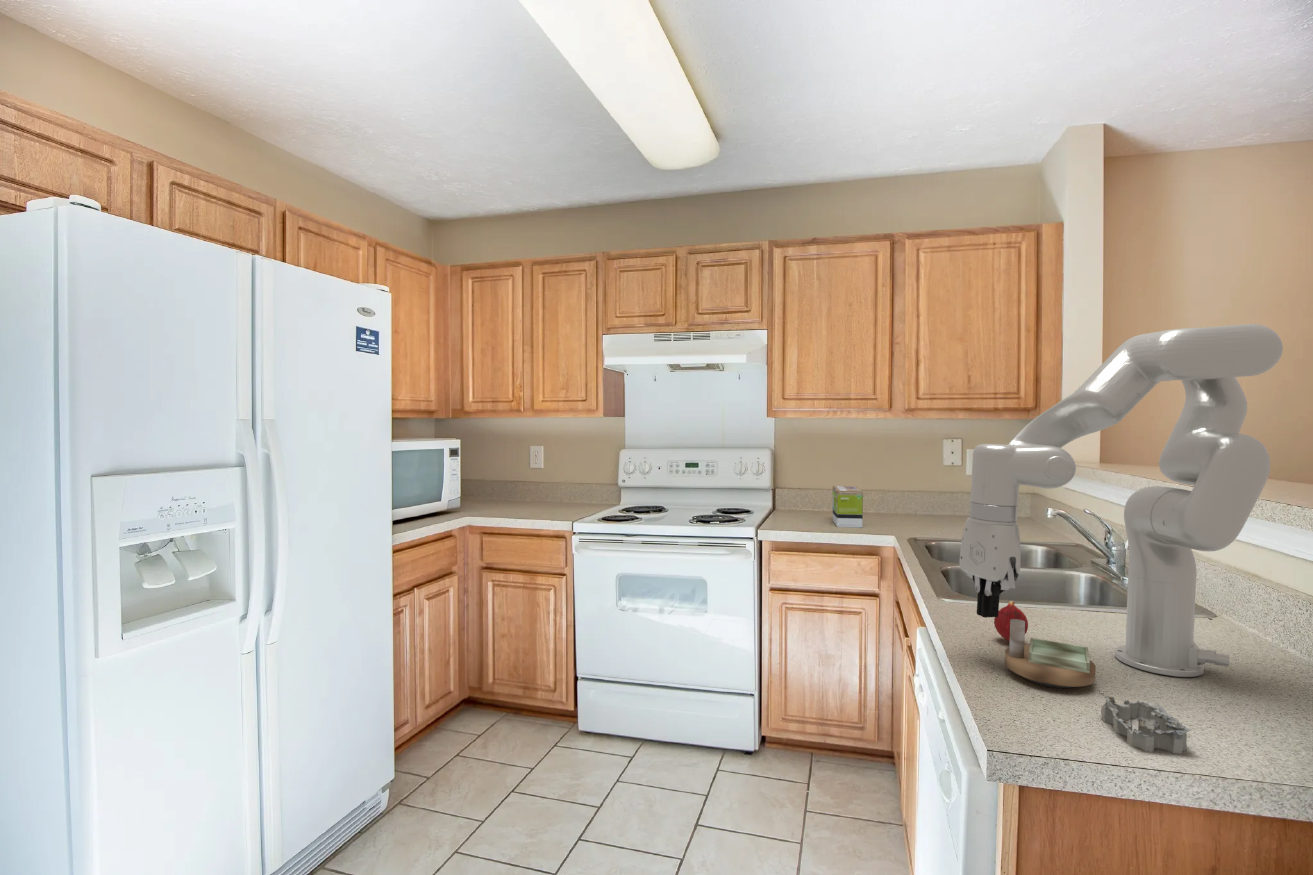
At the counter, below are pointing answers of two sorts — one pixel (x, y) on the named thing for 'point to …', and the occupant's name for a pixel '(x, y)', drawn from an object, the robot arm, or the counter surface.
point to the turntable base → (1048, 684)
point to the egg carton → (1145, 725)
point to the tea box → (848, 506)
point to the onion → (1008, 619)
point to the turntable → (1048, 659)
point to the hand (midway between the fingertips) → (987, 615)
